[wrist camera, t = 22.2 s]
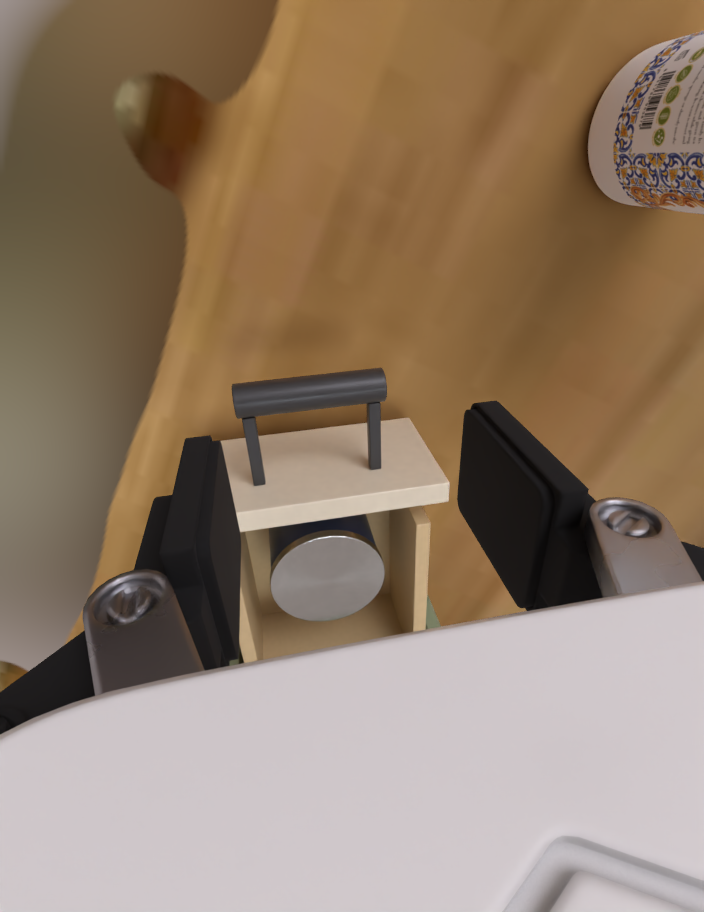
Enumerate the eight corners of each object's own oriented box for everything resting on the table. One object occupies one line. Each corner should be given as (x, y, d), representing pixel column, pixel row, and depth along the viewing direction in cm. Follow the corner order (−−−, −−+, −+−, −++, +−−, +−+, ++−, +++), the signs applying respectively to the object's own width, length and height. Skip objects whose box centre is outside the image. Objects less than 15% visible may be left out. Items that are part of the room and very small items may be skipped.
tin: (280, 476, 30) (285, 528, 26) (381, 493, 32) (401, 544, 28) (257, 558, 33) (258, 617, 29) (350, 569, 35) (364, 625, 31)
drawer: (181, 354, 26) (160, 414, 20) (410, 331, 28) (457, 380, 22) (241, 613, 37) (239, 706, 30) (406, 585, 38) (436, 668, 32)
